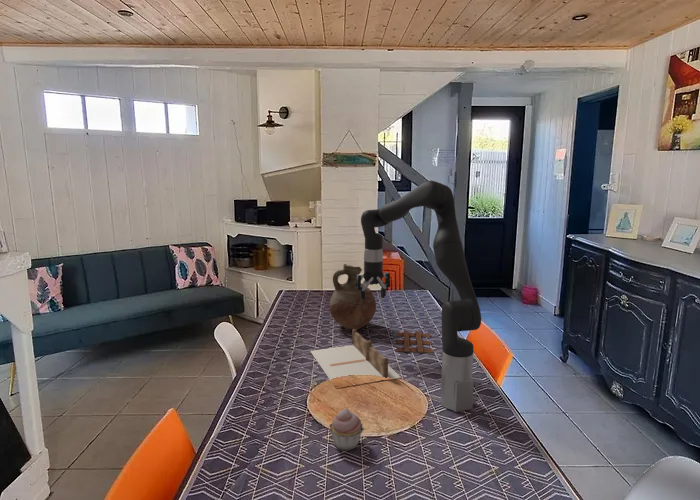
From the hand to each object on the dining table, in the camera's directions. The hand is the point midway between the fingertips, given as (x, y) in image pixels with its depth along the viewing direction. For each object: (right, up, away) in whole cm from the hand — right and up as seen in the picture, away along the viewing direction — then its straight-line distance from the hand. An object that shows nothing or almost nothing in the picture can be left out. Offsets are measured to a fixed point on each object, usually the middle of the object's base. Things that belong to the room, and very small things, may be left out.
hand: (372, 298), depth 182 cm
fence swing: (-5, -21, -1) cm, 21 cm away
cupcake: (-10, -32, -63) cm, 71 cm away
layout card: (-8, -23, -13) cm, 28 cm away
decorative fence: (+18, -21, +8) cm, 29 cm away
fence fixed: (+1, -24, -17) cm, 29 cm away
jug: (-8, -17, +27) cm, 33 cm away
